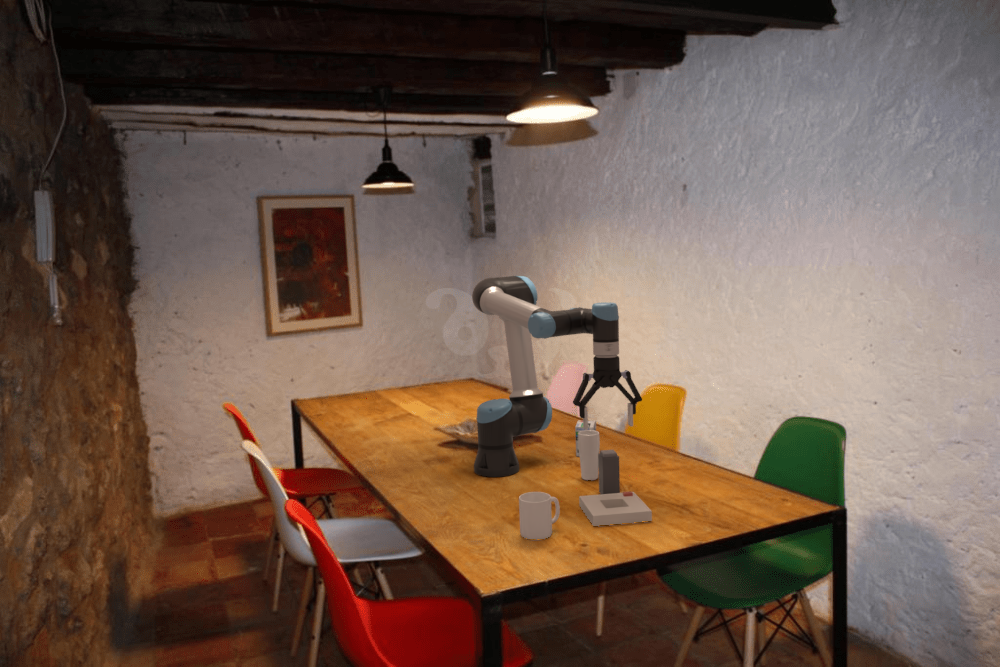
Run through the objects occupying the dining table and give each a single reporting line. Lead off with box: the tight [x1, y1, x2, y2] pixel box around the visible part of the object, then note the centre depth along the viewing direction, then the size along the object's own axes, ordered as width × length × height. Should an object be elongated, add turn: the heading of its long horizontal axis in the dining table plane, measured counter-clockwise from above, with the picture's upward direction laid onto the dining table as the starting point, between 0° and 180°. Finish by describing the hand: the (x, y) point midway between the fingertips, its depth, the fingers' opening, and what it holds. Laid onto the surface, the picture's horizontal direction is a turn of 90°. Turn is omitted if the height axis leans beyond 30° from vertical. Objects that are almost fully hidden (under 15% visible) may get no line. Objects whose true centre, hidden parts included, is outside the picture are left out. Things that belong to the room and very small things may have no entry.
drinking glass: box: [578, 430, 601, 481], centre depth 237 cm, size 7×7×15 cm
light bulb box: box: [574, 419, 597, 457], centre depth 267 cm, size 11×7×11 cm, turn 168°
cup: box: [518, 491, 561, 541], centre depth 194 cm, size 8×12×10 cm
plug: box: [598, 449, 621, 495], centre depth 222 cm, size 5×5×13 cm
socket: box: [578, 490, 653, 527], centre depth 206 cm, size 16×16×4 cm
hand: (608, 427), depth 220 cm, fingers open, 13 cm apart
